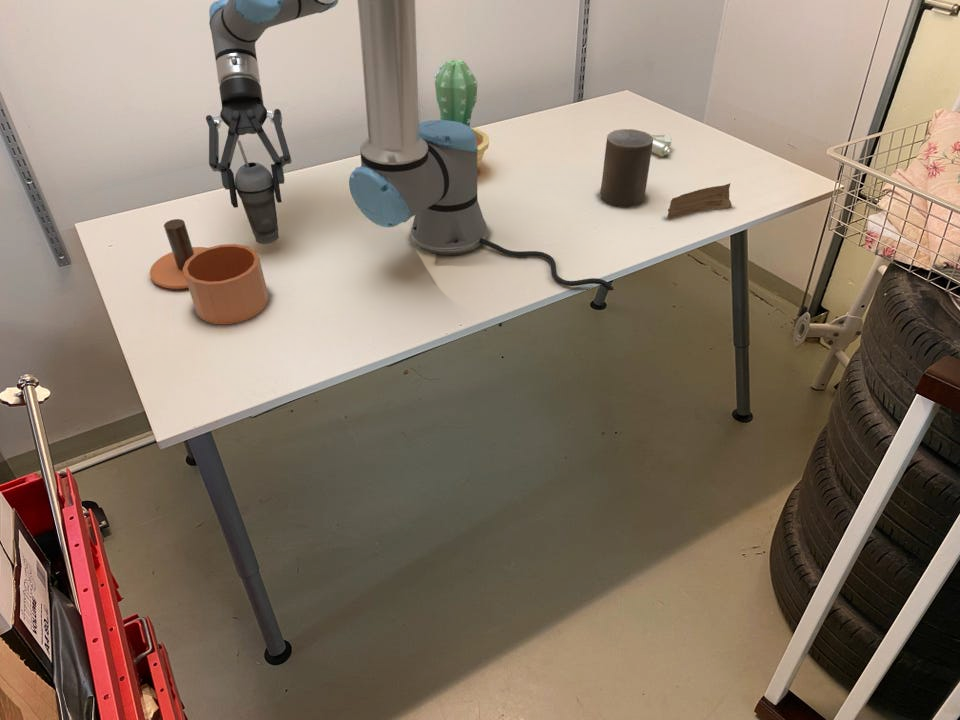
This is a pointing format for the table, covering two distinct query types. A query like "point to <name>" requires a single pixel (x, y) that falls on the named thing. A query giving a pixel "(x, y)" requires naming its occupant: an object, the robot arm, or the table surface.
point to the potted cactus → (459, 98)
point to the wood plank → (700, 201)
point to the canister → (226, 283)
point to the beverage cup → (258, 199)
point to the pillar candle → (626, 167)
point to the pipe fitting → (661, 144)
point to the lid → (174, 257)
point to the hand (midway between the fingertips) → (256, 202)
